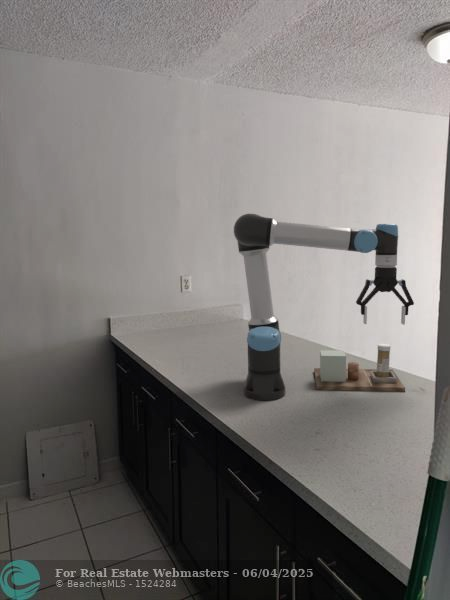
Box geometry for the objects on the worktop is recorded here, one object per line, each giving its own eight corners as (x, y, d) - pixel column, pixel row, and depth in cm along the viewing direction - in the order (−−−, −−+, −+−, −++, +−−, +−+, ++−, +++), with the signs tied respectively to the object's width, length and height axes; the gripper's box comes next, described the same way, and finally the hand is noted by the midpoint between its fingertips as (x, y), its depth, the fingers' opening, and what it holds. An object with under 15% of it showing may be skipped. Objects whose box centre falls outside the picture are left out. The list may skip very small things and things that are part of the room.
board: (317, 389, 175) (317, 370, 174) (314, 371, 196) (314, 354, 195) (405, 391, 170) (405, 371, 169) (392, 373, 192) (392, 355, 191)
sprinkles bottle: (374, 377, 182) (375, 343, 180) (385, 377, 182) (387, 343, 180) (378, 381, 177) (380, 346, 175) (390, 381, 178) (392, 345, 176)
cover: (321, 381, 179) (321, 355, 178) (320, 374, 187) (320, 350, 185) (345, 381, 178) (346, 356, 176) (343, 375, 186) (343, 350, 184)
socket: (373, 382, 176) (373, 377, 176) (370, 375, 184) (370, 370, 184) (396, 383, 175) (396, 377, 175) (392, 376, 183) (392, 371, 183)
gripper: (352, 267, 171) (350, 325, 175) (424, 267, 168) (421, 326, 171) (349, 265, 179) (348, 321, 182) (419, 265, 175) (416, 322, 179)
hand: (383, 323), depth 177 cm, fingers open, 13 cm apart
